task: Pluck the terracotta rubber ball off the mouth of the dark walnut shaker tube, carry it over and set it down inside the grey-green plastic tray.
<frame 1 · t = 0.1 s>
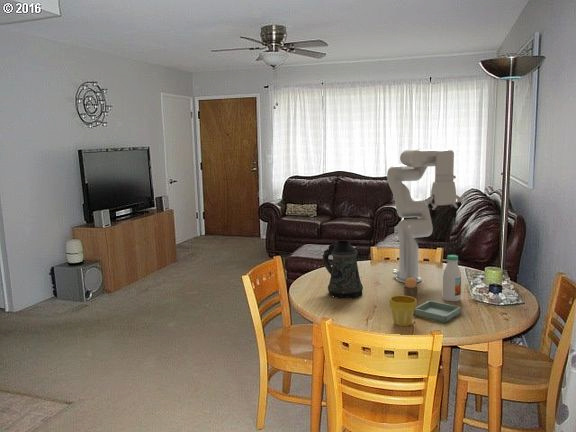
hand: (443, 217, 210), 37 cm above the table, tool pointing down, fingers open, 9 cm apart
ball: (410, 283, 212), point 9 cm above the table, touching shaker
milk bottle: (451, 299, 216), on the table
plant pot: (402, 323, 189), on the table
shaker: (410, 302, 213), on the table, touching ball
beer stein: (342, 293, 228), on the table
tray: (437, 314, 197), on the table
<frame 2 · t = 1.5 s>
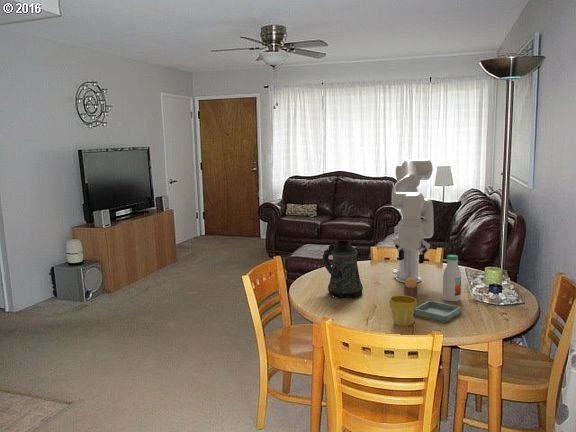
hand: (411, 261, 210), 19 cm above the table, tool pointing down, fingers open, 9 cm apart
nothing on the table moved.
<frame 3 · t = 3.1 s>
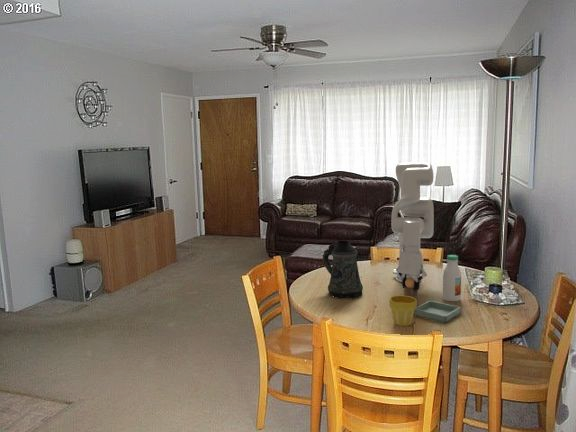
hand: (410, 288, 212), 6 cm above the table, tool pointing down, fingers closed on ball, 4 cm apart
ball: (410, 283, 212), point 9 cm above the table, touching gripper, shaker
everything else where it was.
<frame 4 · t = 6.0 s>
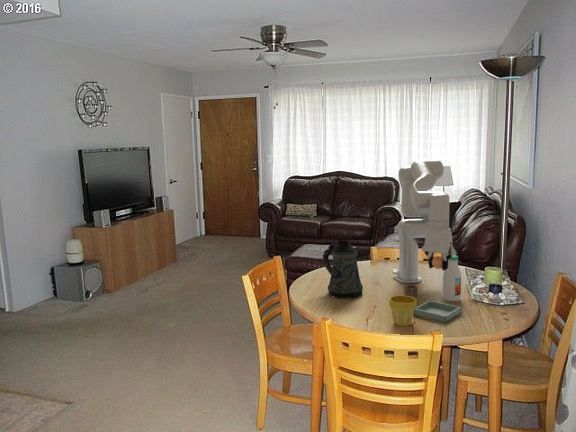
hand: (438, 268, 194), 20 cm above the table, tool pointing down, fingers closed on ball, 4 cm apart
ball: (438, 262, 194), point 22 cm above the table, touching gripper
shaker: (410, 302, 213), on the table
everything else where it was.
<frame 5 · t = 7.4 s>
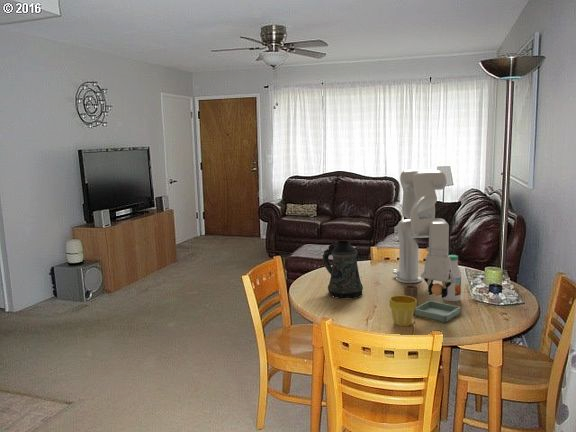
hand: (437, 295, 196), 8 cm above the table, tool pointing down, fingers closed on ball, 4 cm apart
ball: (437, 289, 195), point 11 cm above the table, touching gripper
everything else where it was.
when the fingers open (3 cm above the table, at t = 8.7 s): ball drops 2 cm, resting on tray.
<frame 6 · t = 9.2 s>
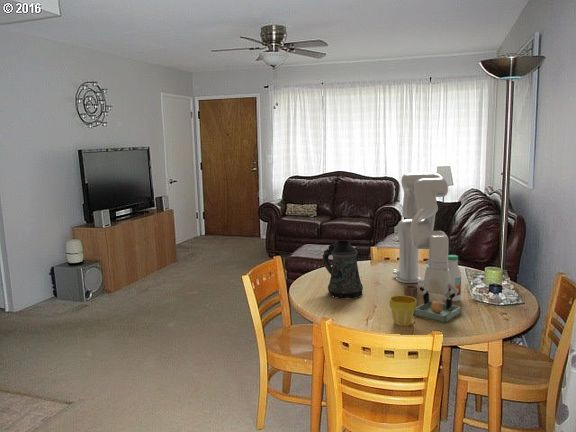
hand: (437, 305, 197), 4 cm above the table, tool pointing down, fingers open, 9 cm apart
ball: (436, 307, 197), point 3 cm above the table, tilted 6°, touching tray
everything else where it was.
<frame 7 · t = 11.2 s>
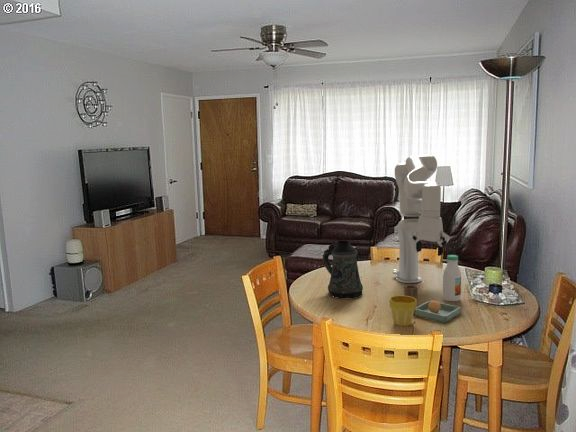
hand: (429, 253, 204), 23 cm above the table, tool pointing down, fingers open, 9 cm apart
ball: (434, 306, 198), point 3 cm above the table, tilted 29°, touching tray
everything else where it was.
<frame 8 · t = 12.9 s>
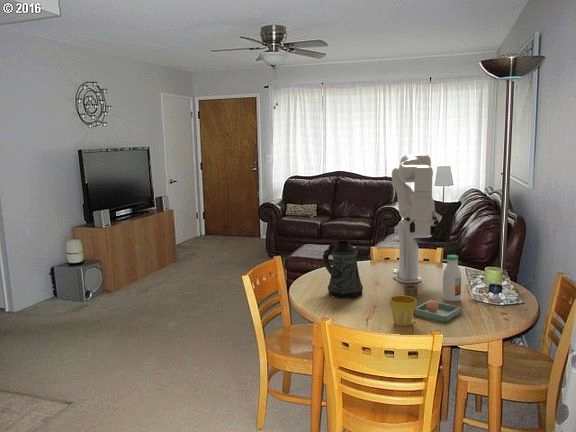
hand: (422, 233, 212), 30 cm above the table, tool pointing down, fingers open, 9 cm apart
ball: (432, 306, 198), point 3 cm above the table, tilted 50°, touching tray
everything else where it was.
at the end: ball inside the target area on the tray (2.2 cm from its centre), point 3.1 cm above the tray's base; the gripper is holding nothing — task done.
